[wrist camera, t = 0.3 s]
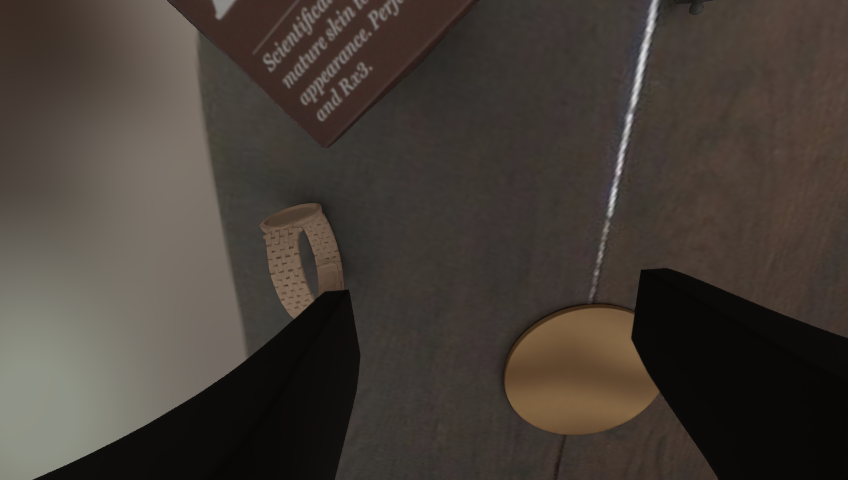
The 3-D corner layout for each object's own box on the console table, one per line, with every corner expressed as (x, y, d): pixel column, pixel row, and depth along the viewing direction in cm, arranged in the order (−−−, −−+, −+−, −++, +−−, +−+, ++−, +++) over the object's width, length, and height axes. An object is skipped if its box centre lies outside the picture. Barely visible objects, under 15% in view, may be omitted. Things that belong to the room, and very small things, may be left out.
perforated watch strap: (332, 188, 20) (304, 231, 15) (362, 277, 21) (346, 339, 17) (277, 202, 20) (233, 247, 15) (312, 288, 22) (282, 351, 17)
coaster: (655, 423, 26) (658, 429, 25) (505, 435, 26) (506, 440, 26) (675, 296, 22) (679, 300, 22) (500, 311, 22) (502, 316, 22)
